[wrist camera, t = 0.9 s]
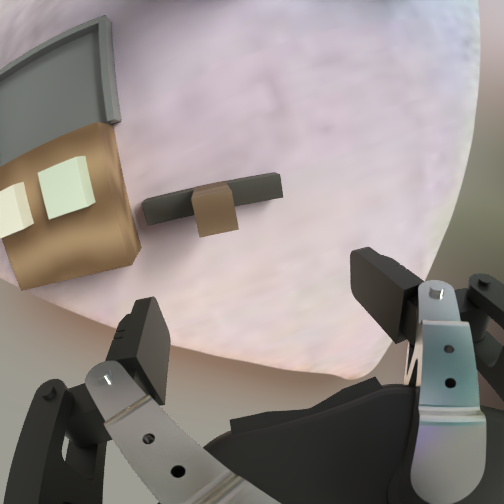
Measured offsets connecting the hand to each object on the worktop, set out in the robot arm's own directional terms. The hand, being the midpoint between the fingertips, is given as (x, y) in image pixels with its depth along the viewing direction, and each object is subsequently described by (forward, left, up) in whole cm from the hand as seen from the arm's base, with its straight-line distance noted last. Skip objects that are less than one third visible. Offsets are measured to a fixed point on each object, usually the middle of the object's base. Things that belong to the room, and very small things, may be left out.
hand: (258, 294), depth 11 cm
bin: (-18, -18, -20) cm, 32 cm away
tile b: (-6, -14, -15) cm, 22 cm away
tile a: (-6, -22, -15) cm, 28 cm away
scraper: (-1, -1, -21) cm, 21 cm away
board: (-4, -18, -20) cm, 27 cm away
